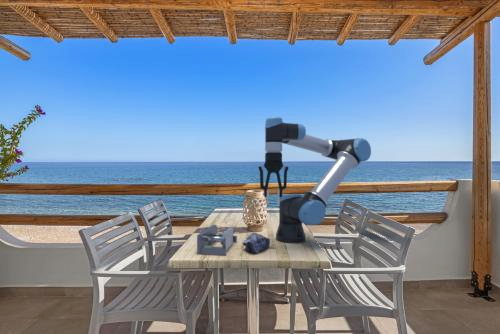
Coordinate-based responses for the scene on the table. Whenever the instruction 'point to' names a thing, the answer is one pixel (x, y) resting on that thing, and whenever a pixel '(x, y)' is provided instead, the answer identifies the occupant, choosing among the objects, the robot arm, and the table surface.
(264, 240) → the rock
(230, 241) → the gauge plunger
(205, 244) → the frame
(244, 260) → the table surface
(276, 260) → the table surface
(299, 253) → the table surface
